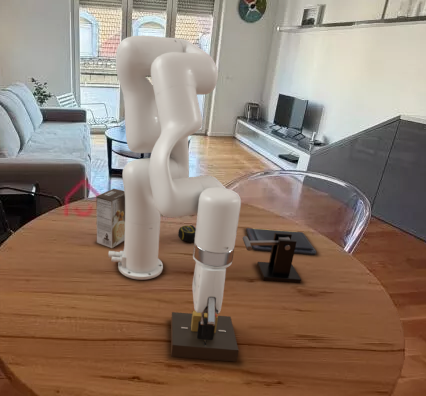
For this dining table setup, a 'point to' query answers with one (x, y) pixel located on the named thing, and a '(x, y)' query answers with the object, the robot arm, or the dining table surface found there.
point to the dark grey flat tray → (265, 234)
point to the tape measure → (187, 233)
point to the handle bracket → (280, 261)
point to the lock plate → (202, 349)
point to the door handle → (260, 242)
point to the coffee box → (111, 218)
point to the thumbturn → (196, 320)
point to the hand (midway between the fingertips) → (203, 327)
